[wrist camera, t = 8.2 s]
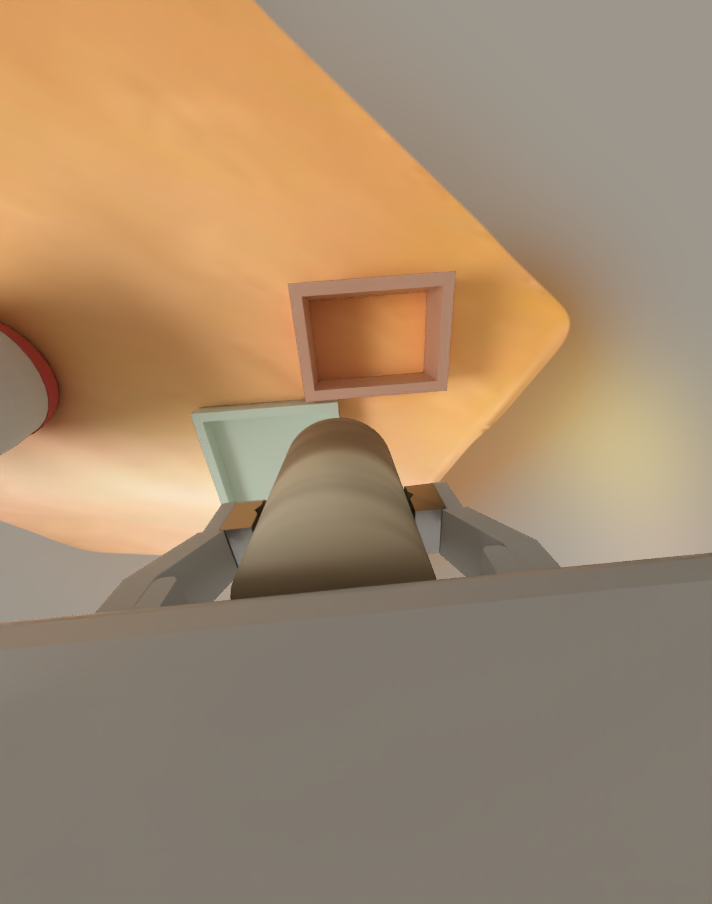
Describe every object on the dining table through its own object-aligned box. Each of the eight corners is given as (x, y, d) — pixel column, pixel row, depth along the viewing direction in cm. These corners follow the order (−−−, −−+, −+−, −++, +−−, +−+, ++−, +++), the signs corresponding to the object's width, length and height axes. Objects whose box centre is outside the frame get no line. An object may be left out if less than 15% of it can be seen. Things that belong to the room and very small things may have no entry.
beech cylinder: (275, 423, 12) (200, 536, 6) (389, 412, 12) (444, 512, 6) (296, 515, 14) (258, 672, 8) (392, 505, 14) (434, 654, 8)
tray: (200, 407, 32) (190, 414, 30) (337, 396, 32) (337, 402, 30) (236, 517, 39) (229, 528, 37) (348, 507, 39) (349, 518, 37)
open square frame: (296, 289, 27) (287, 283, 23) (437, 279, 27) (455, 271, 23) (311, 390, 32) (305, 401, 27) (432, 380, 32) (446, 390, 27)
